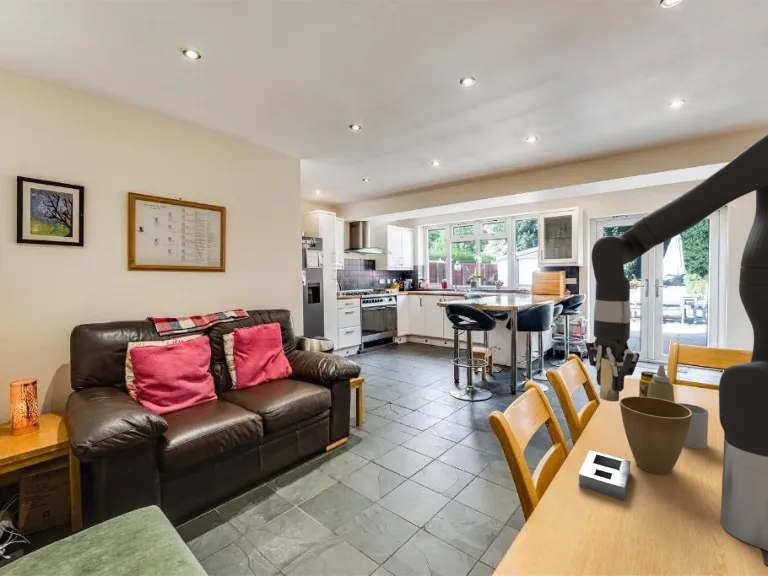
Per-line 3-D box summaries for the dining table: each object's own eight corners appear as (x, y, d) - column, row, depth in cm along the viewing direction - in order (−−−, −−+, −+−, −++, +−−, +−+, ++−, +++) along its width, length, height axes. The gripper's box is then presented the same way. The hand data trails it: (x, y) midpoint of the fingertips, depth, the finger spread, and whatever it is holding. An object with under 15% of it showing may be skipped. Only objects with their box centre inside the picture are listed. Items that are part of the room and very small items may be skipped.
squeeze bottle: (646, 410, 132) (648, 361, 131) (675, 416, 127) (677, 364, 126) (644, 417, 125) (646, 365, 124) (674, 424, 120) (676, 369, 119)
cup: (714, 449, 103) (715, 414, 103) (680, 447, 105) (681, 412, 104) (695, 436, 112) (696, 404, 111) (664, 434, 113) (665, 402, 113)
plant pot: (642, 448, 104) (644, 392, 104) (703, 475, 91) (706, 412, 90) (604, 458, 99) (606, 400, 98) (663, 489, 85) (666, 421, 84)
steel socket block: (624, 500, 81) (624, 487, 81) (578, 486, 87) (579, 473, 86) (630, 472, 92) (630, 461, 92) (589, 461, 98) (589, 450, 97)
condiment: (640, 406, 136) (641, 374, 135) (633, 398, 144) (634, 368, 143) (664, 409, 133) (665, 376, 133) (656, 401, 141) (657, 370, 141)
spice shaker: (612, 402, 88) (613, 356, 87) (596, 397, 91) (597, 352, 91) (622, 399, 90) (624, 354, 89) (606, 394, 93) (607, 351, 93)
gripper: (576, 315, 95) (575, 380, 96) (624, 323, 82) (622, 399, 83) (600, 314, 97) (599, 378, 98) (651, 322, 83) (649, 396, 84)
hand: (609, 387), depth 90 cm, fingers closed on spice shaker, 4 cm apart
